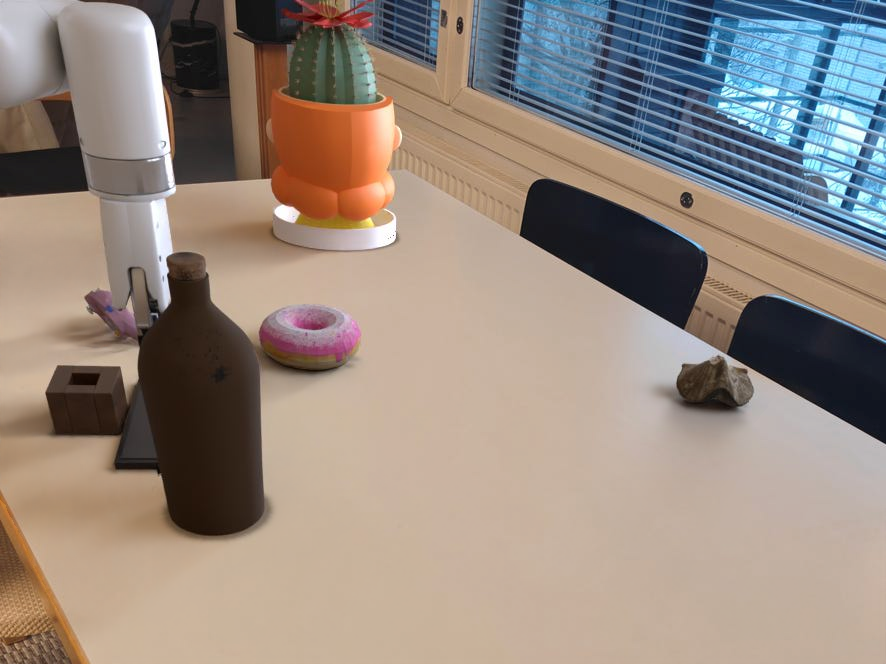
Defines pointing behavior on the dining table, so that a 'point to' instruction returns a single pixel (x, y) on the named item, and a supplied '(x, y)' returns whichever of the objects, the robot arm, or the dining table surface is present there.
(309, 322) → the donut
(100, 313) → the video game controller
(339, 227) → the potted cactus
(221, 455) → the rum bottle
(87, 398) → the pen holder
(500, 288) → the dining table surface
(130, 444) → the tablet
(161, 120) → the robot arm
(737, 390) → the fossilized seashell
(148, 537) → the dining table surface
